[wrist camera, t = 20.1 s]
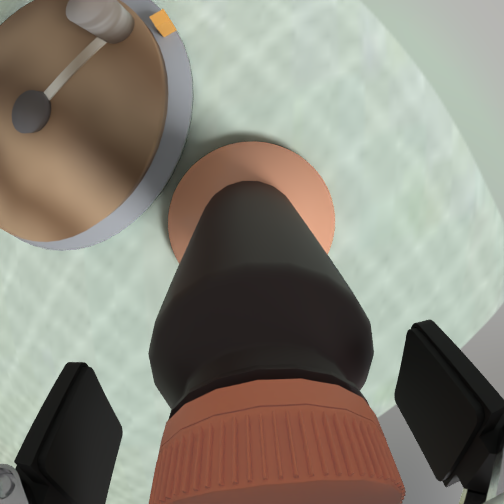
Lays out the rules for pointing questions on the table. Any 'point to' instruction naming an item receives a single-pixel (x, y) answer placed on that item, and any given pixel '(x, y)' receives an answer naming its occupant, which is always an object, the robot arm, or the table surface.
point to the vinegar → (265, 367)
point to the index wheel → (75, 114)
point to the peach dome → (250, 169)
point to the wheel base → (170, 141)
